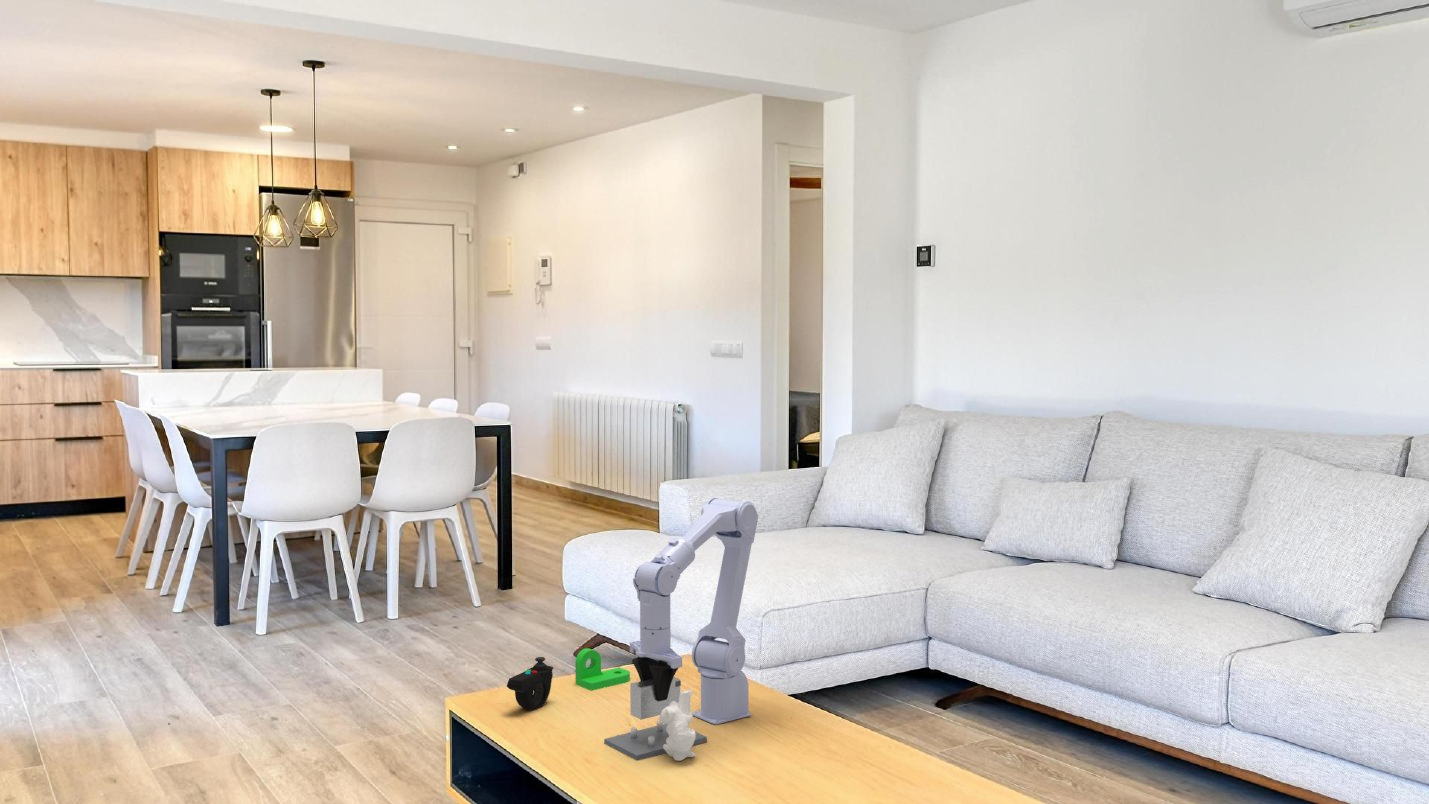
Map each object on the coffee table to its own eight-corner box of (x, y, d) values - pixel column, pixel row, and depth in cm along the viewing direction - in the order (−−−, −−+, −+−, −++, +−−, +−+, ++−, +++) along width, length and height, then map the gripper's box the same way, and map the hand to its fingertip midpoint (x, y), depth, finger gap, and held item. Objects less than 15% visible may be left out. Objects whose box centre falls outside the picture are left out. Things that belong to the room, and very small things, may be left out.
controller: (556, 703, 245) (556, 656, 244) (521, 720, 234) (521, 671, 233) (539, 700, 246) (539, 653, 246) (504, 717, 235) (503, 668, 235)
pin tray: (673, 726, 230) (672, 713, 229) (706, 742, 221) (706, 728, 221) (604, 744, 220) (604, 730, 220) (636, 760, 211) (636, 746, 211)
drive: (669, 705, 224) (669, 674, 224) (680, 710, 221) (680, 679, 221) (630, 714, 219) (630, 683, 218) (641, 719, 216) (641, 687, 215)
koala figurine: (680, 746, 218) (679, 683, 218) (708, 754, 214) (708, 690, 214) (651, 760, 212) (651, 695, 211) (680, 768, 208) (680, 701, 207)
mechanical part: (591, 692, 252) (591, 656, 252) (575, 686, 257) (575, 650, 256) (635, 681, 260) (635, 646, 260) (619, 676, 265) (618, 641, 264)
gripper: (616, 622, 222) (616, 692, 223) (660, 637, 211) (660, 711, 212) (646, 616, 227) (647, 685, 227) (691, 631, 215) (691, 703, 216)
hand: (655, 697), depth 220 cm, fingers closed on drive, 3 cm apart
